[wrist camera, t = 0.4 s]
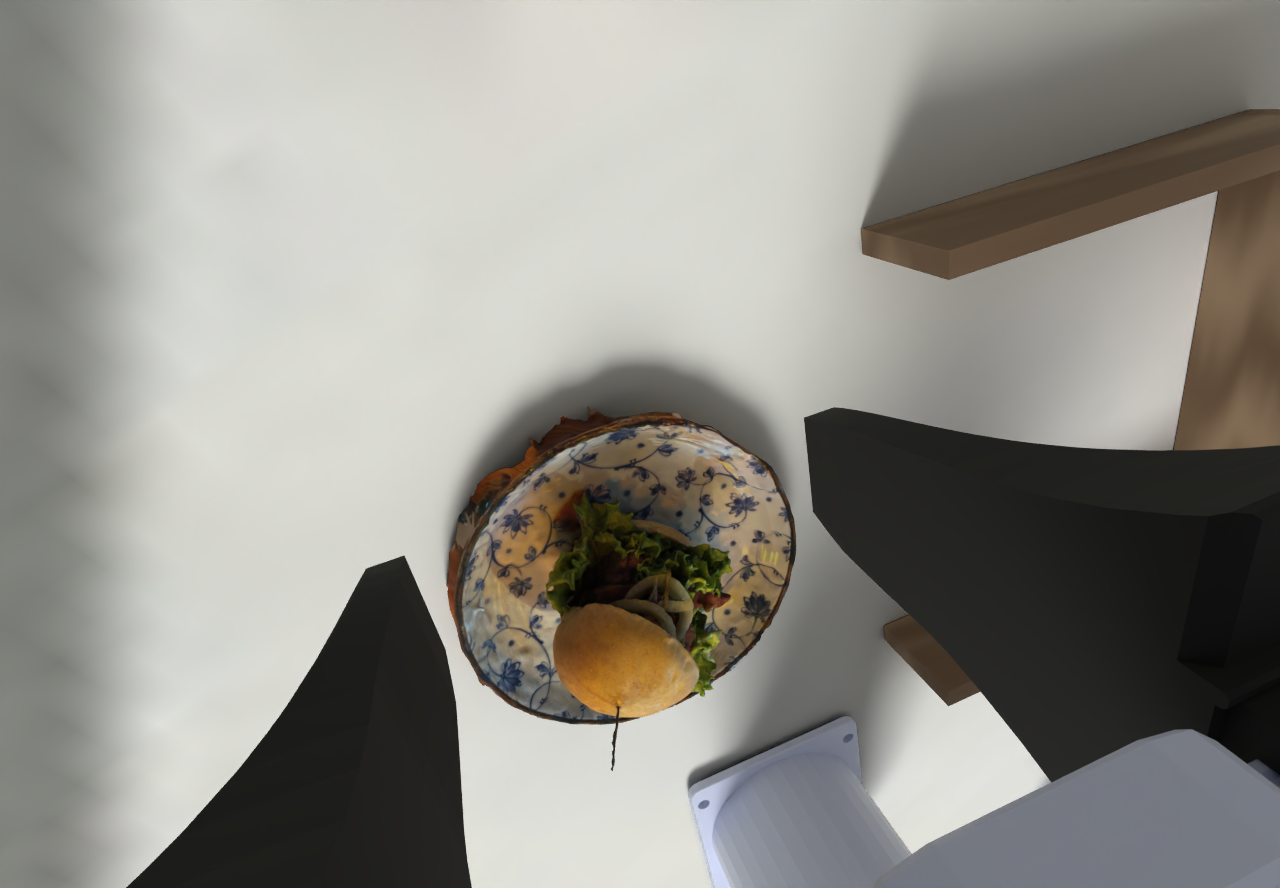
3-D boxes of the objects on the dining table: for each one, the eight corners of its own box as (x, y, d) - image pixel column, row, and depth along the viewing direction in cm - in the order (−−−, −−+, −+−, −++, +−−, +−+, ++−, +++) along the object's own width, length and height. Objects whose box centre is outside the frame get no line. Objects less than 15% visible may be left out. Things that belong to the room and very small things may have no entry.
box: (1175, 513, 34) (1265, 559, 30) (884, 639, 31) (948, 706, 27) (1249, 109, 25) (1386, 109, 22) (860, 229, 22) (948, 250, 19)
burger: (775, 639, 29) (888, 789, 23) (485, 734, 26) (520, 936, 20) (769, 360, 24) (915, 454, 17) (403, 442, 21) (415, 591, 14)
